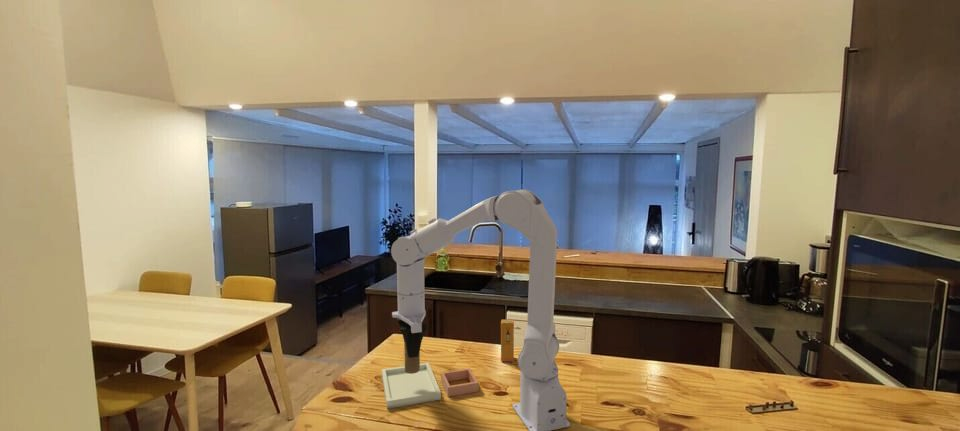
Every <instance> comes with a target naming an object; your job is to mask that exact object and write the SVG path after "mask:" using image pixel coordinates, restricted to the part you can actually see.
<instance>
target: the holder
mask: <svg viewBox="0 0 960 431" xmlns="http://www.w3.org/2000/svg"><path fill="white" fill-rule="evenodd" d="M465 379H466V380H467V379H468V380H469V381H468V382H464V383H459V384H454V385H453V384H452V385H450V383H449V382H452V381H459V380H465ZM440 382H441V384H442V387H443V389H444V391H445V393H446V396H447V398H449V397H456V396H460V395H466V394H472V393H477V392H479V384H480V383H479V381H478V379H477V378H476V375H474V373H473V372H472V370H471V368H463V369H457V370H450V371H445V372H440Z"/></svg>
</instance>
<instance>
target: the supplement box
mask: <svg viewBox="0 0 960 431" xmlns="http://www.w3.org/2000/svg"><path fill="white" fill-rule="evenodd" d="M514 328H515V321H514V319H501V321H500V361H501V363H502V362H503V363H504V362H507V363H509V362H510V363H514V362H515V358H514V357H515V356H514V353H515V351H514V350H515V348H514V346H515V345H514V344H515V343H514V342H515V341H514V340H515V338H514V336H515V334H514V330H515V329H514Z"/></svg>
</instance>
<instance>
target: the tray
mask: <svg viewBox="0 0 960 431" xmlns="http://www.w3.org/2000/svg"><path fill="white" fill-rule="evenodd" d="M381 380H382V384H383V391H384V398H385V404H386V409H387V410H389V409H395V408H400V407H401V408H402V407H405V406H411V405H416V404H418V405H419V404H422V403H429V402H435V401H441V400H442V392H441V388H440V387H439V384H438V383H437V380H436V377H435V375H434V373H433V370H432V368H431V365H430V363H429V362H424V363H420V370H419V372H417V373H413V374H409V373H406V372H405V365H403V366H396V367H390V368H382V369H381Z"/></svg>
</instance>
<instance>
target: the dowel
mask: <svg viewBox="0 0 960 431" xmlns="http://www.w3.org/2000/svg"><path fill="white" fill-rule="evenodd" d="M403 342H404V343H403V344H404V350H403V351H404V366H405V372H406V373H409V374H413V373H417V372H419V370H420V364H421V363H420V361H421V360H420V359H421V357H420V353H421V352H419V356H418V357H412V358H409V357H408V354H407V349H406V343H405V339H403Z"/></svg>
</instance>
